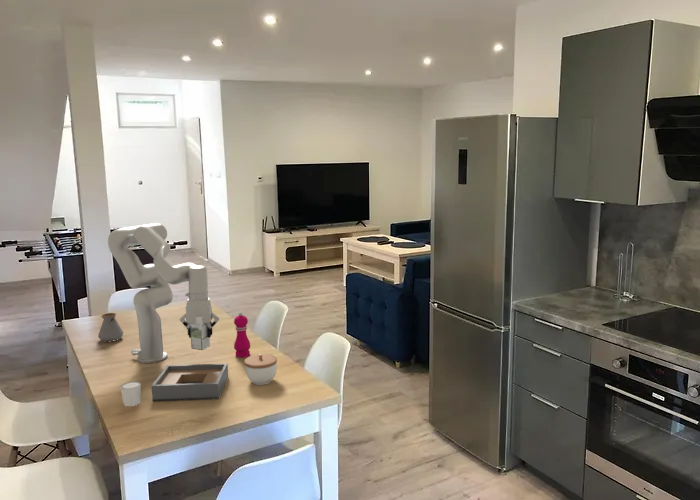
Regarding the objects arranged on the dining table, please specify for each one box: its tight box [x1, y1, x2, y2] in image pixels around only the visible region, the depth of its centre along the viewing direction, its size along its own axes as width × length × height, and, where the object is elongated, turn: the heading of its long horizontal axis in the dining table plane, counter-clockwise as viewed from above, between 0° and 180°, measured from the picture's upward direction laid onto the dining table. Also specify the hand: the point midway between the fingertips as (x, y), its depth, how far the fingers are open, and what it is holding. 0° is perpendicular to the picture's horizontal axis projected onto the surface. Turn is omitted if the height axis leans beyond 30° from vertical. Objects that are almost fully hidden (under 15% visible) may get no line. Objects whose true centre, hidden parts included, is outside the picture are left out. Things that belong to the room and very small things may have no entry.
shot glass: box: [120, 381, 142, 407], centre depth 198 cm, size 7×7×7 cm
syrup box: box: [190, 317, 211, 351], centre depth 227 cm, size 6×6×14 cm
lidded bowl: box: [243, 353, 278, 386], centre depth 215 cm, size 13×13×11 cm
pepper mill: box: [233, 311, 251, 359], centre depth 243 cm, size 7×7×20 cm
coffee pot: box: [97, 312, 124, 342], centre depth 264 cm, size 21×12×15 cm, turn 30°
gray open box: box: [150, 363, 229, 402], centre depth 209 cm, size 24×20×6 cm
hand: (200, 336), depth 228 cm, fingers closed on syrup box, 7 cm apart
